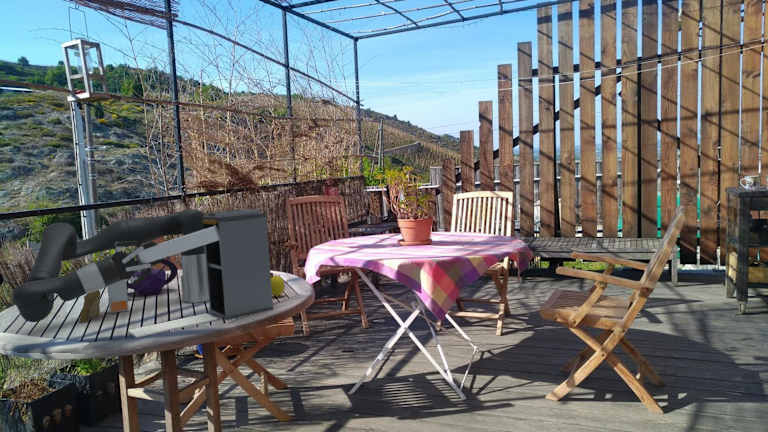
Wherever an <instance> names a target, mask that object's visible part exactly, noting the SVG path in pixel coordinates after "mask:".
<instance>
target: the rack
mask: <svg viewBox="0 0 768 432" xmlns="http://www.w3.org/2000/svg"><path fill="white" fill-rule="evenodd" d="M267 223H268V222H267V213H266V212H261V210H260V208H255V209H252V208H243V209H241V208H240V209H235V210H234V209H231V210H222V211H213V212H212V211H211V212H207V213H206V215H205V216H202V225H203V229H207V228H210V227H213V226H216V227H217V229H218V232H219V234H220V237H221V239H220V240H218V241H215V242H212V243H209V244H206V245H204V248H205V260H206V271H207V283H208V295H209V300H208V301H209V302H208V305H209V312H210V313H211V314H213V315H217V316H219V317H220V318H223V319H225V320H230V319H235V318H240V317H244V316H248V315H253V314H256V313H257V314H258V313H261V312H266V311H270V310H274V302H273V301H274V300H273V294H272V287H271V274H270V273H271V262H270V252H269V237H268V224H267Z"/></svg>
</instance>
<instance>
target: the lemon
mask: <svg viewBox="0 0 768 432" xmlns="http://www.w3.org/2000/svg"><path fill="white" fill-rule="evenodd" d="M271 287H272V296H275V297H276V298H279V297H280V295H281V294H282V295H283V292H284V291H285V282H284V279H283V277H282V276H281V277H280V275H277V274H276V275H273V277H272V278H271Z"/></svg>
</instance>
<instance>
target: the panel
mask: <svg viewBox="0 0 768 432" xmlns="http://www.w3.org/2000/svg"><path fill="white" fill-rule="evenodd" d="M220 239H221V237H220V234H219V232H218V229H217V227H216V226H213V227H210V228H207V229H203V230H200V231H197V232H194V233H191V234H188V235H185V236H184V235H182V236H179V237H176V238H172V239H170V240H166V241H163V242H159V243H157V245H155V246H153V247H150V248H148V249H146V250H145V249H144V250H142V251H141V252H139V253H138V254H137V255H136V256H135V259H136V260H137V261H138V263H139V264H146V263H149V262H152V261H155V260H159V259H162V258H163V259H165V258H166V257H168V256H170V257H171V256H174V255H177V254H181V252H184V251H187V250H190V249H193V248H196V247H199V246H202V245H206V244H209V243H212V242H215V241H218V240H220Z"/></svg>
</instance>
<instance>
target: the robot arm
mask: <svg viewBox="0 0 768 432" xmlns="http://www.w3.org/2000/svg"><path fill="white" fill-rule="evenodd" d="M202 216H206V214H205V213H204V212H202V211H201V210H199V209H184V210H180V211H176V212H173V213H170V214H166V215H160V216H142V217H133V218H125V219H120V220H116V221H114V222H113V223H111V224H109V225H108V226H106V227H105V228H104V229H102V230H101V231H100V232H98V233H97V234H94V235H93V236H91V237H89V238H87V239H83V240H78V238H77V237H78V236H77V231H76V228H75V227H74V226H73V225H72V224H70V223H67V222H55V223H54V222H53V223H51V224H49V225H47V226H45V227H44V228H43V231H42V234H41V242H40V246H39V250H38V253H37V256H36V259H35V262H34V263H33V266H32V268H31V270H30V272H29V273H28V275H27V278H26V280H25V282H24V283H21V284H20V285H18V286H17V287H16V288H15V289H14V290H13V291H12V293H11V294H12V295H11V298H12V301H13V303H14V304H15V306H16V308H17V310H18V312H19V314H20V315H21V317H22V319H24V320H25V321H27V322H28V323H29V322H30V323H38V322H41V321H43V320H44V319H46V318H47V317H48V316H49V315H50V314H51V313H52V310H53V309H54V304H55V294H56V295H57V296H58V297H59V298H60V300H62V301H63V302H70V301H72V300H76V299H77V298H80V297H84V296H86V295H87V294H88V293H91V292H94V291H97V290H99V291H100V290H103V289H104V288H108V287H107V286H109V285H111V284H114V283H116V282H119V281H121V280H126V281H127V280H129V283H132V284H133V285H134V286H137V285H138V284H139V283H140V282H141V281H143V280H144V279H145V278H146V277H147V276H148V275H150V274H151V270H152V267H153V266H155V265H158V264H162V263H161V262H162V259H164V258H162V259H159V260H155V261H152V262H149V263H146V264H137V263H136V262H135V261H136V260H135V259H136V255H137V254H138V253H139V252H141V251H142V250H144V249H145V250H146V249H148V248H150V247H153V246H155V245H157V244H158V243H157V242H155V240H158V239H159V238H163V237H169V236H177V235H178V236H179V235H182V236H185V235H188V234H191V233H194V232H197V231H200V230H203V225H202ZM150 241H151V242H150ZM128 247H135V248H134V249H132V250H130V251H129V252H124V251H122V250H124V249H125V248H128ZM110 250H115V252H114V253H113V254H112V255H109V256H107V257H104V258H102V259H100V260H97V261H94V262H91V263H89V264H86V265H84V266H82V267H80V268H78V269H76V270H74V271H71V272H69V273H65V274H64V275H60V274H61V269H62V264H63V263H62V262H66V261H73V260H75V259H79V258H82V257H85V256H86V257H87V256H90V255H93V254H97V253H102V252H106V251H110ZM180 258H181V269H182V274H181V275H180V283H181V285H180V286H181V297H182V302H185V303H189V304H195V303H203V302H207V301H209V295H208V283H207V271H206V260H205V248H204V245H202V246H199V247H196V248H193V249H190V250H187V251H184V252H180ZM144 268H145V270H144V272H143V273H142V274H140V275H139V276H138V277H133V278H132V275H133V274H134V272H137V271H138V270H139V271H140V270H143V269H144Z"/></svg>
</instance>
